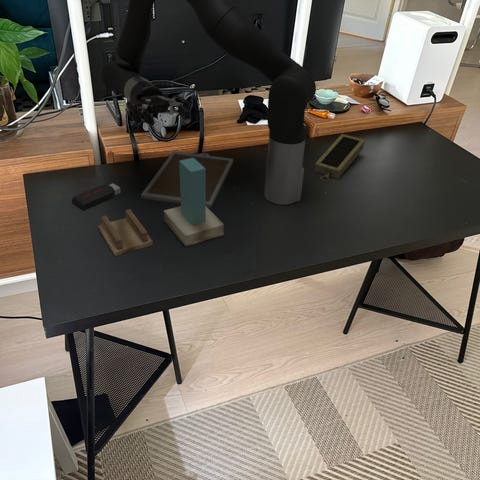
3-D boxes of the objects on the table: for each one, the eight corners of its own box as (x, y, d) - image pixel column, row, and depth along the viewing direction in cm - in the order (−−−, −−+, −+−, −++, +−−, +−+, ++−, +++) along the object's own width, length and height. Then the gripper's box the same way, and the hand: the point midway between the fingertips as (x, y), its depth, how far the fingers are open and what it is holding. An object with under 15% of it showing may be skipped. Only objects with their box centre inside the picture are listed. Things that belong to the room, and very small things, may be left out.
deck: (200, 210, 123) (200, 200, 121) (223, 234, 115) (223, 224, 113) (164, 220, 119) (163, 210, 117) (185, 246, 111) (185, 235, 109)
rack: (134, 219, 119) (133, 207, 117) (153, 244, 111) (152, 232, 109) (98, 228, 115) (96, 216, 113) (115, 256, 107) (113, 243, 105)
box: (363, 152, 152) (365, 138, 148) (334, 191, 139) (336, 177, 135) (339, 146, 155) (340, 132, 152) (308, 184, 142) (309, 170, 139)
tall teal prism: (194, 209, 118) (193, 157, 110) (205, 221, 114) (205, 168, 106) (181, 213, 116) (179, 160, 108) (192, 225, 112) (191, 171, 104)
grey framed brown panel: (140, 194, 127) (175, 147, 150) (140, 200, 127) (175, 152, 151) (211, 204, 124) (235, 155, 148) (211, 210, 125) (235, 159, 149)
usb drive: (72, 204, 124) (70, 195, 123) (111, 188, 132) (110, 179, 130) (83, 212, 121) (82, 202, 120) (123, 195, 129) (121, 186, 127)
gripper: (114, 84, 116) (139, 107, 105) (168, 77, 122) (197, 97, 111) (117, 114, 121) (141, 139, 110) (170, 105, 127) (197, 128, 116)
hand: (170, 118), depth 111 cm, fingers open, 8 cm apart
